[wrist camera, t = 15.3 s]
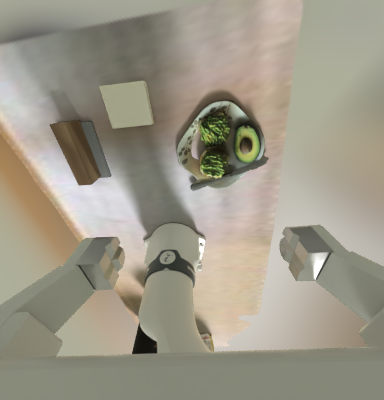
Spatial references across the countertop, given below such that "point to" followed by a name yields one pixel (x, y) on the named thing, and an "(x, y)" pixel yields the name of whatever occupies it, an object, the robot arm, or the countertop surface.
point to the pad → (96, 148)
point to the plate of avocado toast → (222, 146)
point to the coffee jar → (144, 343)
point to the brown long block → (76, 151)
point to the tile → (127, 104)
